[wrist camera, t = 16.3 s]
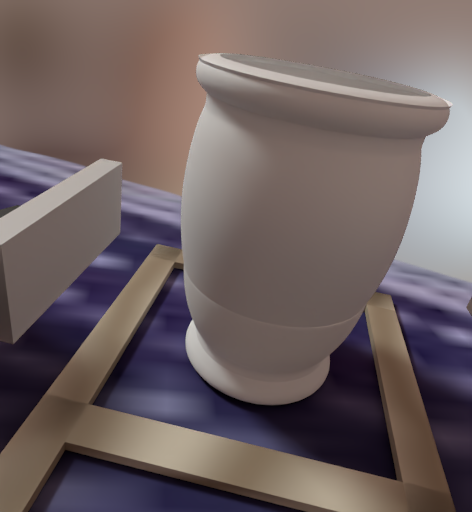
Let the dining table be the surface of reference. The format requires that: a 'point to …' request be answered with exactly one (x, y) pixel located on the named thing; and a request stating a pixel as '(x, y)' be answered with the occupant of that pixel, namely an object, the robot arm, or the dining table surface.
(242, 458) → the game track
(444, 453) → the dining table surface
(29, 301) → the robot arm
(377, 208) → the jar
